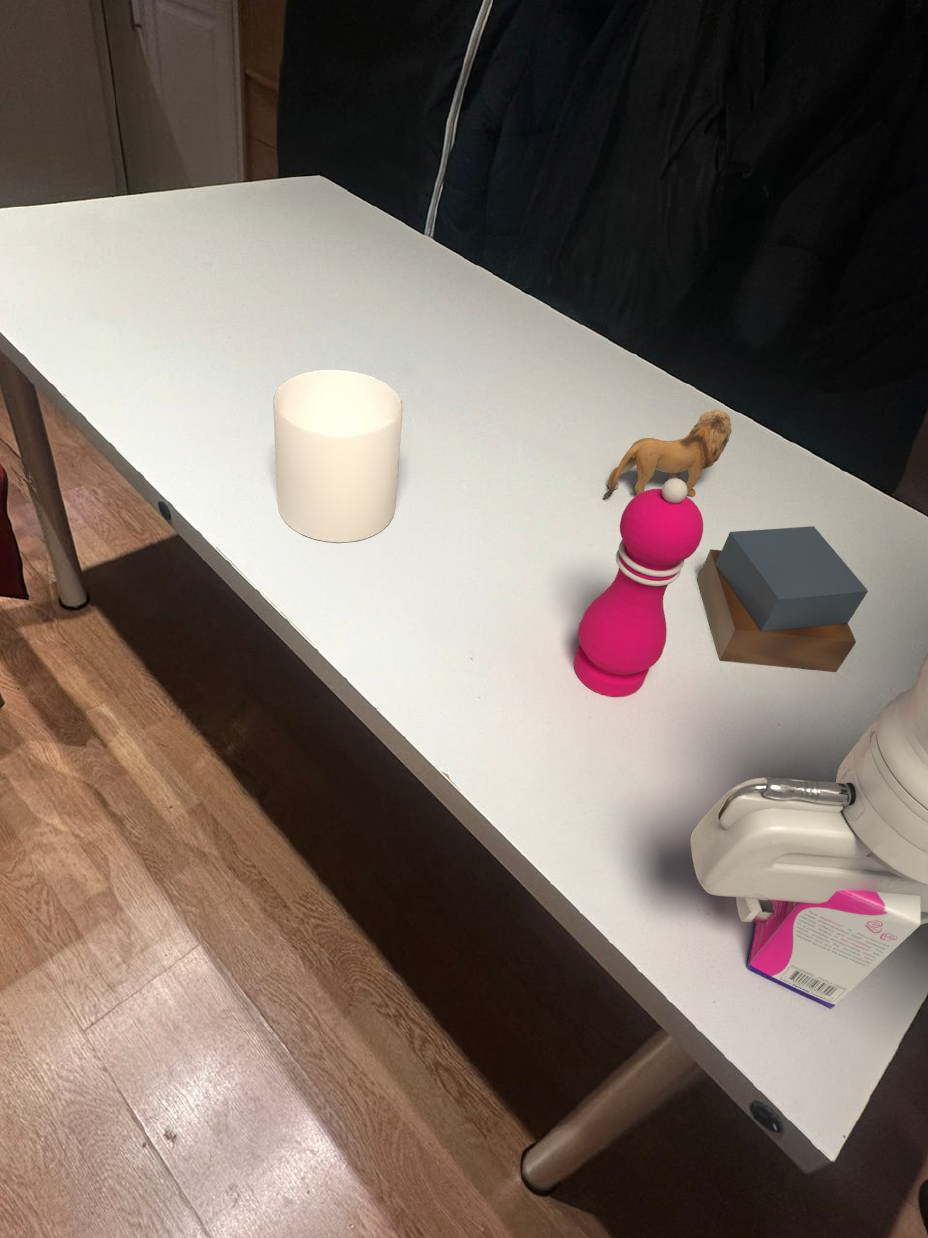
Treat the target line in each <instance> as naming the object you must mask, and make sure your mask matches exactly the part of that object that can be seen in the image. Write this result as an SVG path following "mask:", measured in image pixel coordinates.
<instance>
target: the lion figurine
mask: <svg viewBox="0 0 928 1238" xmlns="http://www.w3.org/2000/svg"><path fill="white" fill-rule="evenodd" d="M732 433H733V428H732V422H731V416H730V415H729V414H727V412H725V411H722V410H720V409H716V408H715V409H713V410H711V411H706V412H704V413H702V414H700V415H699V418H698V421H697V422H696V423H695V424H694V425H693V428H692V429H691V430H690V432H689V433H688V434H687V435H686V436H685V437H684V438H679V439H675V440H661V439H657V438H654V437H644V438H641V439H638V440H636V441H635V442H633V443H632V444H631V446H630V448H629V449H628V450H627V451H626V453H625V454H624V455H623V457H622V459H621V460H620V462H619V464H618V466H617V467H615V468H614V469H613V470H612V471H611V473H610V476H609V478H608V480H607V483H606V485H607V487H608V490H607V491H606V493H604V495H603V498H605V499H607V498H610V497H611V496H612V495H613V494H614V491H615V490H617V489H618V488H619V486H620V484H619V479H620V477H621V475H623V474H624V473H626V472H627V471H629V470H631V469H633V468H634V467H636V473H637V481H636V483H635V485H634V487H633V488H634V491H635V493H636V495H638V494H640V493H642V492H644V491H645V487H646V486H647V484H648V483H649V481H650V480H651V479H652V478H653V476H654V474H655V471H656V470H657V471H660V472H663V473H667V474H670V475H669V477H668V480H670V479H673V478H677V479H680V475H681V473H682V472H685V471H687V474H688V478H687V481H686V482H685V484H686V486H687V495H686V496H687V497H688V496H689V497H691V498H693V497H695V496H696V490H695V489H694V487H695V486H696V484H697V482H698V481H699V480H700V478H701V475H702V472H703V470H706V469H708V468H710V467H712V466H714V464H715V463H716V462H718V461H719V459H720V457H721V455H722V453H723V452H724V451H725V448H726V447H727V444H728V443H729V441H730V437H731V434H732Z"/></svg>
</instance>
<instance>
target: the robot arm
mask: <svg viewBox="0 0 928 1238" xmlns="http://www.w3.org/2000/svg"><path fill="white" fill-rule="evenodd" d="M877 715H878V716H877V717H876V718H874V720H873V722H872V723H871V724H870V725H869V727H868V728H867V729H866V731H865V732H864V733H863V734H862V736H861V737H860V738H859V739H858V741H857V742H856V744H855V745H854V746H853V747H852V749H851V750H850V751H849V753H848V754H847V755H846V756H845V757H844V759H843V760H842V762H841V763H840V765H839V768H838V769H837V770H838V771H837V773H836V780H835V782H834V781H824V780H804V779H803V780H802V779H793V778H787V777H782V776H772V777H757V778H751V779H748V780H744V781H743V782H740V783H739V784H736V785H735V786H734V787H733V788H731V789H729V790H728V791H727V792H726V793H725V794H724V795H723V796H722V797H721V798H720V799H719V800H718V801H717V802H716V803H715V804H714V805H713V806H712V807H711V808H710V809H709V810H708V812H707V813H706V814H705V815H704V816H703V818H702V819H700V821H699V823H698V824H697V825H696V827H694V829H693V831H692V832H691V836H690V851H691V857H692V863H693V867H694V872H695V875H696V879H697V880H698V883H699V884H700V886H701V887H702V888H703V889H704V891H705V892H706V893H707V894H708V895H712V896H717V897H730V898H731V897H732V898H735V904H736V908H737V913H738V918H739V920H740V921H741V922H742V923H755V924H756V923H766V922H767V919H768V918H770V917H771V916H772V915H773V914H774V910H773V906H772V902H771V901H770V900H779V901H791V902H803V903H816V904H819V903H823V902H827V901H828V900H829V899H830V898H831V897H832V896H833V894H834V893H835V892H836V891H841V890H854V891H868V892H882V893H894V894H905V895H916V896H920V897H921V918H920V919H921V924H920V926H922V925H925V924H928V651H927V652H926V654H925V655H924V658H923V660H922V662H921V664H920V666H919V671H918V675H917V677H916V679H915V681H914V683H913V684H912V685H911V686H910V687H908V688H907V689H906V690H904V691H902V692H900V693H899V694H897V695H896V696H894V697H893V698H892V699H891V700H890V701H889V702H888V703H887V704H886V705H885V706H884V708H882V710H881V711H880V713H879V714H877Z"/></svg>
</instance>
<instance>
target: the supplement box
mask: <svg viewBox="0 0 928 1238" xmlns="http://www.w3.org/2000/svg"><path fill="white" fill-rule="evenodd" d="M770 901H771V902H772V906H773V910H774V914H773V915H772V916H771V917H770V918H768V919H767V922H766V923H755V925H754V929H753V935H752V939H751V945H750V949H749V950H750V951H749V955H748V961H747V970H749V971H750V972H753V973H755V974H757V975H759V976H760V977H763V978H765V979H767V980H769V981H772V982H773V983H776V984H777V985H780V986H782V987H784V988H787V989H788V990H790V991H792V992H795V993H797V994H799V995H801V996H802V997H803V996H804V997H806V998H808V999H810V1000H812V1001H813V1002H816V1003H818V1004H820V1005H823V1006H825V1007H827V1008H828V1009H831V1010H833V1009H834V1008H835V1007H836V1005H838V1004H839V1003H840V1002H841V1001H842V1000H844V998H845V997H846V996H847V995H848V994H849V993H850V992H852V991H853V990H854V989H855V988H856V987H857V986H858V985H859V984H860V983H861V982H862V981H863V980H864V979H865V978H866V977H867V976H868V975H869V974H871V972H873V970H875V969H876V967H877V966H879V965H880V964H881V963H882V962H883V961H884V960H885V959H886V958H888V956H889V955H890V954H892V953H893V952H894V951H895V950H896V949H897V948H898V947H899V946H900V945H901V944H903V942H904V941H905V940H907V938H909V937H910V936H911V935H912V934H913V933H914V932H915V931H916V930H917V929H918V928H919V927H920V926H921V925H920V924H921V919H920V918H921V897H920V896H916V895H905V894H894V893H882V892H868V891H854V890H841V891H836V892H835V893H834V894H833V896H832V897H831V898H830V899H829V900H828V901H827V902H823V903H819V904H816V903H803V902H791V901H779V900H770Z"/></svg>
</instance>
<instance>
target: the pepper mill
mask: <svg viewBox="0 0 928 1238" xmlns="http://www.w3.org/2000/svg"><path fill="white" fill-rule="evenodd" d="M619 533H620V537H621V540H620V542H619V545H618V550H617V551H616V554H615V563H616V564H617V566H618V570H617V572H616V575H615V578H614V580H613V581H612V583H611V584H610V585H609V586H608V587H607V588H606V589H605V590H604V591H603V592H601V593H600V594H599V595H598V596H597V597H596V598H594V600H592V602H591V603H590V604H589V605H588V606H587V608H586V609H585V611H584V613H583V614H582V617H581V619H580V622H579V624H578V630H577V637H578V641H579V644H578V647H577V649H576V652H575V656H574V658H573V667H574V671H575V674H576V676H577V677H578V679H579V680H580V681H581V682H582V683H583V685H585V686H586V687H587V688H588V689H590V690H592V691H593V692H595V693H598V694H600V695H603V696H608V697H613V698H618V697H620V698H621V697H622V698H623V697H627V696H630V695H633V694H635V693H636V692H637V691H639V690H640V689H641V688H642V686H643V685H644V682H645V681H646V678H647V676H648V672H649V670H650V668H652V667H653V666H654V665H655V664H656V663H657V662H658V661H659V660H660V658H661V657H662V655H663V652H664V649H665V645H666V643H667V633H668V632H667V631H668V629H667V621H666V614H665V609H664V597H665V593H666V590H667V588H668V586H669V585H670V584H672V583H673V582H675V581H676V580H677V579H678V578H679V577H680V574H681V571H682V569H683V568H684V565H685V561H686V560H687V559H688V558H690V557H691V556H692V555H693V554H694V553H695V552H696V550H697V549H698V547H699V546H700V544H701V541H702V538H703V533H704V520H703V515H702V512H701V511H700V508H699V507H698V505H697V504H696V503H695V502H694V501H693V500H692V499H691V498H690V497H688V495H687V486H686V482H685V481H683V480H682V479H680V478H679V479H677V478H673V479H670V480H669V479H668V480H666V481H665V482H664V484H663V485H662V487H661V488H650V489H646V490H644V492H642V493H640V494H638V495H637V494H636V495H635V496H634V497H633V498H632V499H631V500H630V501H629V502H628V503H627V504H626V507H625V508H624V510H623V512H622V514H621V517H620V522H619Z"/></svg>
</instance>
